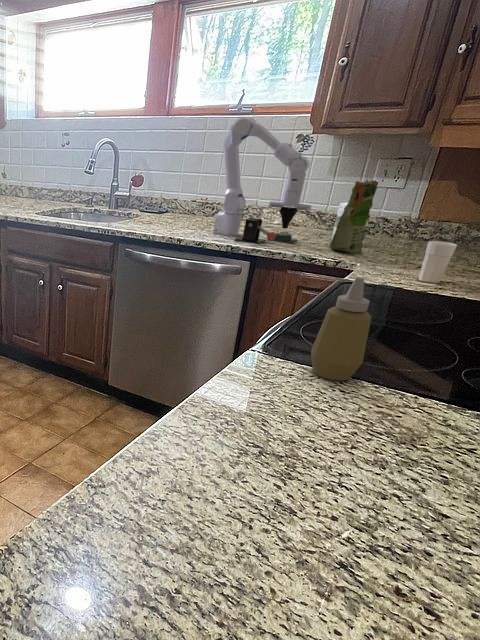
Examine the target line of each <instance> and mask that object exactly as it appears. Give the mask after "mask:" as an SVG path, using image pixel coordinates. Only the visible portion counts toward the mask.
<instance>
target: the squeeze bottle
mask: <svg viewBox="0 0 480 640" xmlns="http://www.w3.org/2000/svg"><path fill="white" fill-rule="evenodd" d="M364 288H365V278H364V277H361V276H356V277H355V278H354V280H353V282H352V283H351V285H350V287H349V289H348V290H347V292H346V293H345V294H341V295H338V296H337V299H336V303H335V306H332V307H330V308H328V309H327V312H326V314H325V316H324V319H323V321H322V324H321V326H320V329H319V331H318V333H317V335H316V339H315V341H314V343H313V346H312V348H311V351H310V356H311V366H312V367H311V368H312V372H313V373H314V374H315V375H317V376H318V377H320V378H324V379H327V380H332V381H339V382H345V381H348V380H350V379H351V378H352V377H353V375H354V374H355V373H356V371H358V370H359V368H360V367H361V366H362V365H363V363H364V358H365V353H366V347H367V342H368V337H369V333H370V326H371V322H372V315H371V314H370V312H368V309H369V305H370V300H369V299H367V298H365V297H364V290H365V289H364Z"/></svg>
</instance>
